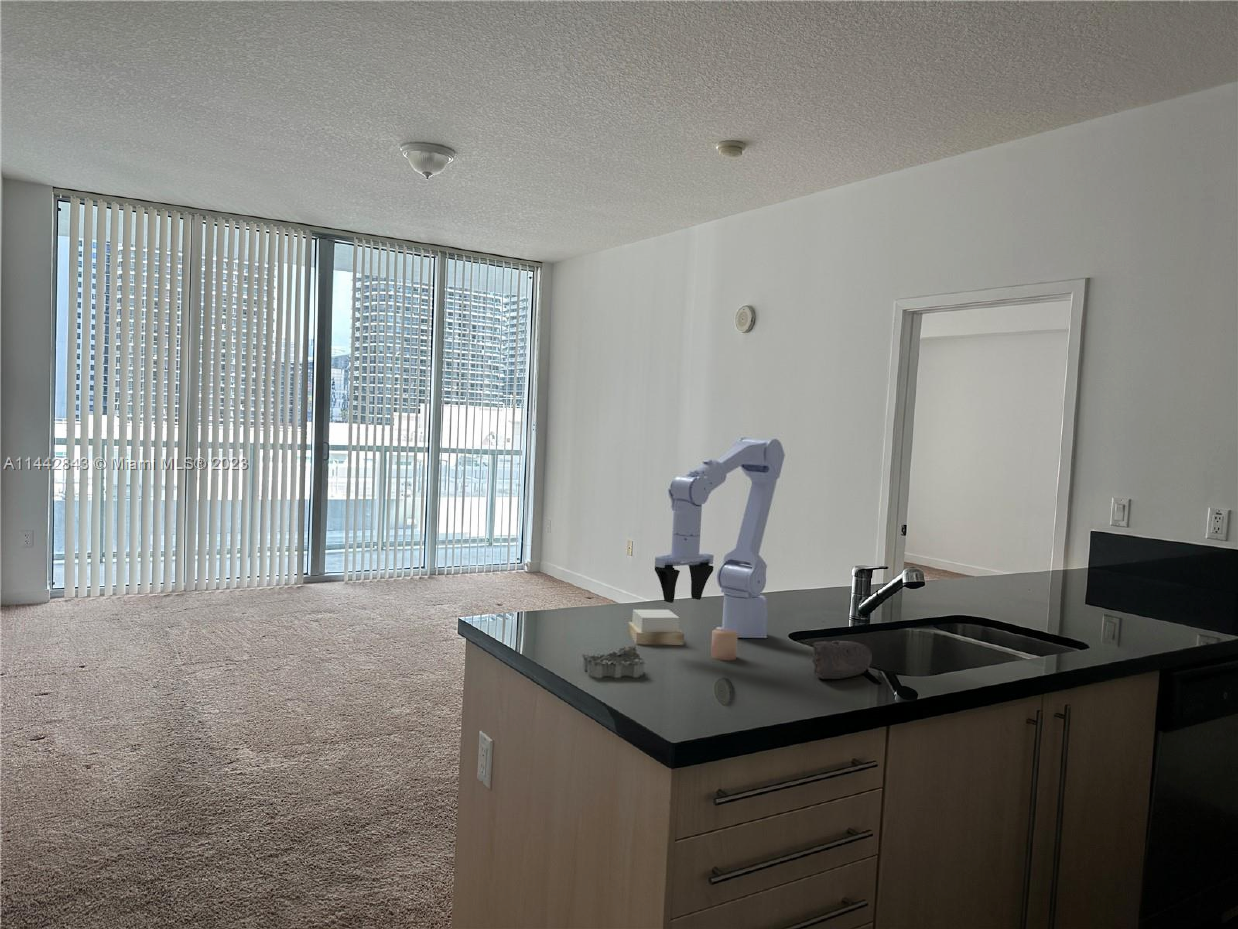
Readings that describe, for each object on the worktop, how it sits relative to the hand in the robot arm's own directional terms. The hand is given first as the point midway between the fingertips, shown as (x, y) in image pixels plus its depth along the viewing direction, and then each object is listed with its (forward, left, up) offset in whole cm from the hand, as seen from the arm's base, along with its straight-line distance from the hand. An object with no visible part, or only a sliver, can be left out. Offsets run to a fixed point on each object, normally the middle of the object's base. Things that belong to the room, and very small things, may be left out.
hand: (682, 600), depth 169 cm
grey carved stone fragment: (+17, +19, -10) cm, 27 cm away
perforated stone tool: (-26, +20, -10) cm, 35 cm away
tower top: (+4, -7, -7) cm, 11 cm away
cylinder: (-7, +7, -10) cm, 14 cm away
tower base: (+4, -7, -10) cm, 13 cm away
